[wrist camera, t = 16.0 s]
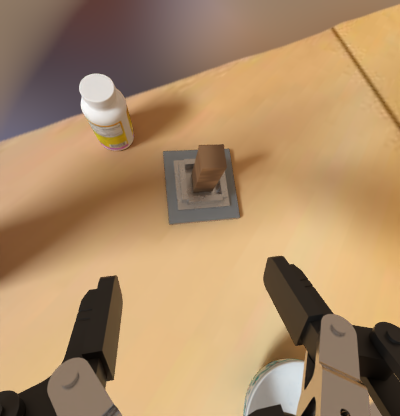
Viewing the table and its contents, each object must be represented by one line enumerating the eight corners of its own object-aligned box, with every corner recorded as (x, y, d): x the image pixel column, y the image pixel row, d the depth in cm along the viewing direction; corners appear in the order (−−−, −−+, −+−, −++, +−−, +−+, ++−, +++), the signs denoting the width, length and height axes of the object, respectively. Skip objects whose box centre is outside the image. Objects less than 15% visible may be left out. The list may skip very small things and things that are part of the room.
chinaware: (210, 391, 36) (221, 424, 29) (275, 323, 40) (300, 336, 33) (273, 476, 35) (302, 533, 27) (334, 396, 38) (374, 428, 31)
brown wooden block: (193, 192, 42) (202, 168, 31) (191, 174, 43) (199, 145, 32) (212, 191, 42) (226, 167, 32) (209, 173, 43) (223, 144, 33)
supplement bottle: (112, 115, 45) (91, 59, 33) (141, 132, 45) (131, 82, 33) (91, 141, 43) (60, 91, 31) (121, 158, 43) (103, 116, 31)
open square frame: (178, 210, 41) (178, 207, 39) (173, 161, 43) (173, 155, 41) (229, 206, 43) (232, 203, 40) (222, 159, 45) (225, 153, 42)
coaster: (169, 224, 41) (169, 224, 40) (163, 153, 45) (163, 151, 44) (238, 218, 44) (239, 217, 43) (227, 151, 47) (229, 148, 46)
